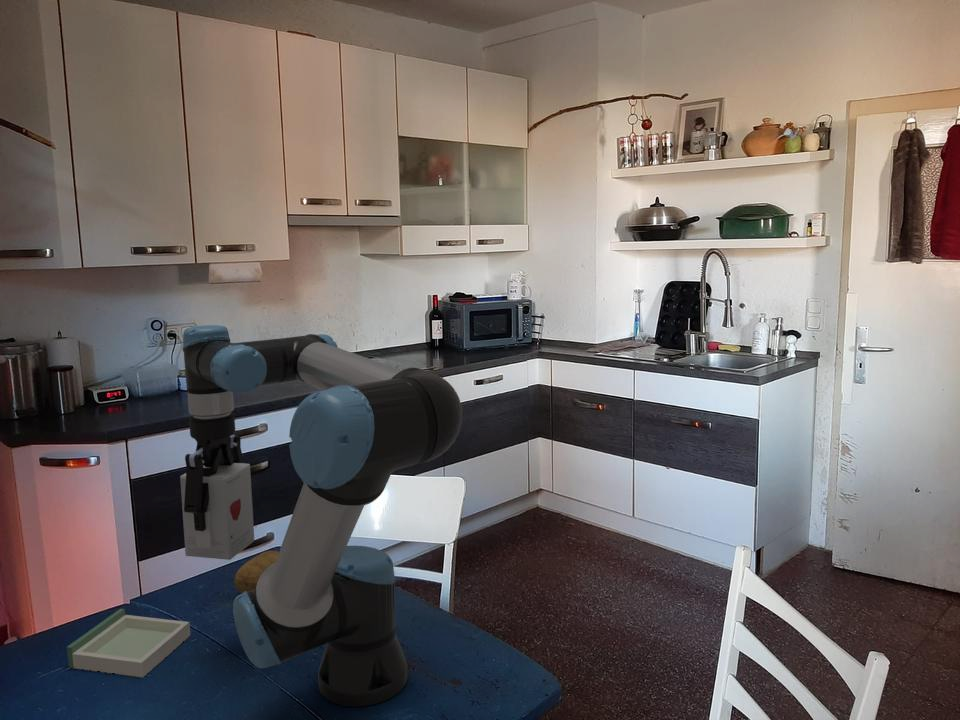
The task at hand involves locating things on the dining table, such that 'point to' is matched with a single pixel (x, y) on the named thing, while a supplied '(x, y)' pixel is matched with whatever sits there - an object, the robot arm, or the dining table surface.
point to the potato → (254, 571)
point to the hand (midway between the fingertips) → (220, 535)
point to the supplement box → (223, 513)
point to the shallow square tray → (127, 644)
